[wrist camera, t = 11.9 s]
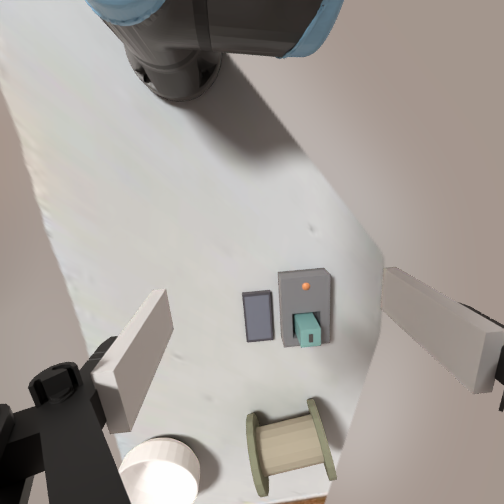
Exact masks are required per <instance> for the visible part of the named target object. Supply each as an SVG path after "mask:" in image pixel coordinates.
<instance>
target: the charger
mask: <svg viewBox="0 0 504 504" xmlns="http://www.w3.org/2000/svg"><path fill="white" fill-rule="evenodd" d="M293 323H294V330H295V332H296V335H297V338H298V341H299V343H300V346H301V348H302V347H311V346H321V328H320V326H319V324H318V322H317V320H316V319H315V317H314V315H313V313H312V312H307V313H297V314H293Z"/></svg>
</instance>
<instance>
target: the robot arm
mask: <svg viewBox="0 0 504 504" xmlns="http://www.w3.org/2000/svg"><path fill="white" fill-rule="evenodd" d="M85 1H86V2H87V4H88V5H89V6H90V7H91V8H92V10H93V11H94V12H95V13H96V14H97V15H98V16H99V17H100V18H101V19H102V20H103V21H104V23H105V24H106V25H107V26H108V27H109V28H110V29H111V30H112V31H113V32H114V34H115V35H116V36H117V37H118V38H119V39H120V40H121V41H122V42H123V43H124V47H125V51H126V55H127V58H128V60H129V62H130V64H131V66H132V68H133V70H134V72H135V73H136V75H137V76H138V77H139V79H140V80H141V81H142V82H143V83H144V84H145V85H146V86H147V87H148V88H149V89H150V90H152V91H153V92H154V93H156V94H157V95H159V96H161V97H163V98H166V99H169V100H173V101H187V100H191V99H194V98H196V97H198V96H200V95H202V94H203V93H204V92H206V91H207V90H208V89H209V88H210V86H211V85H212V84H213V82H214V81H215V79H216V77H217V74H218V72H219V69H220V65H221V58H222V52H224V53H236V54H249V55H260V56H272V57H276V58H279V59H281V58H286V57H306V56H309V55H311V54H313V53H314V52H315V51H317V50H318V49H319V48H320V46H321V45H322V44H323V43H324V41H325V40H326V38H327V36H328V35H329V33H330V31H331V29H332V27H333V25H334V23H335V21H336V19H337V17H338V14H339V12H340V9H341V7H342V4H343V2H344V0H85ZM381 310H383V311H384V312H385V313H386V314H387V315H388V316H389V317H390V318H391V319H392V320H393V321H394V322H396V323H397V324H398V325H399V326H400V327H401V328H402V329H403V330H404V331H405V332H406V333H407V334H408V335H410V336H411V337H412V338H413V339H414V340H415V341H416V342H417V343H418V344H419V345H420V346H422V348H424V349H425V350H426V351H427V352H428V353H429V354H430V355H431V356H432V357H433V358H434V359H436V360H437V361H438V362H439V363H440V364H441V365H442V366H443V367H444V368H445V369H446V370H447V371H448V372H450V373H451V374H452V375H453V376H454V377H455V378H456V379H457V380H458V381H459V382H460V383H461V384H462V385H464V386H465V387H466V388H467V389H468V390H469V391H470V392H471V393H472V394H479V393H487V392H492V390H493V386H494V381H495V379H496V380H498V381H499V382H500V383H501V384H503V385H504V325H502V324H500V323H499V322H497V321H495V320H493V319H490V318H489V317H488V316H486V315H484V314H481V312H479V311H477V310H475V309H474V308H472V307H470V306H467V305H464V304H462V303H459V302H456V301H454V300H453V299H451V298H449V297H447V296H446V295H444V294H442V293H441V292H439V291H437V290H435V289H433V288H432V287H430V286H428V285H426V284H425V283H423V282H421V281H420V280H418V279H416V278H414V277H413V276H411V275H409V274H407V273H405V272H404V271H402V270H400V269H399V268H397V267H391V268H384V269H383V283H382V296H381ZM173 330H174V328H173V322H172V317H171V312H170V307H169V302H168V297H167V291H166V289H157V290H152V292H151V293H150V294H149V296H148V297H147V298H146V300H145V301H144V302H143V304H142V305H141V306H140V308H139V309H138V310H137V312H136V313H135V314H134V316H133V317H132V318H131V320H130V321H129V323H128V324H127V325H126V327H125V328H124V329H123V331H122V332H121V333H120V335H119V336H114V337H110V338H109V339H107V340H106V341H105V342H103V343H102V344H101V345H100V346H99V347H98V348H97V350H96V351H95V352H94V354H93V355H92V356H91V357H90V358H89V361H87V362H86V363H85V364H84V366H83V367H82V368H81V369H80V370H79V369H78V366H77V365H76V364H75V363H74V362H65V363H59V364H57V365H54V366H51V367H49V368H47V369H46V370H44V371H42V372H41V373H39V374H38V375H37V376H35V377H34V378H33V379H32V381H31V382H30V383H29V387H28V389H29V391H30V393H31V396H32V398H33V401H34V403H35V407H31V408H28V409H25V410H22V411H19V412H16V413H12V411H11V409H10V406H8V405H7V404H0V504H28V500H29V496H30V491H31V487H32V483H33V478H34V475H35V474H38V473H41V472H43V471H45V474H46V482H47V490H48V497H49V504H131V502H130V499H129V497H128V494H127V492H126V489H125V487H124V484H123V482H122V479H121V477H120V474H119V472H118V469H117V467H116V464H115V462H114V459H113V457H112V454H111V452H110V449H109V447H108V444H107V442H106V439H105V437H104V434H103V432H102V429H103V427H104V425H105V423H106V424H107V427H108V430H109V433H110V434H114V433H123V432H131V430H132V427H133V425H134V423H135V420H136V418H137V415H138V413H139V411H140V408H141V406H142V404H143V401H144V399H145V396H146V394H147V392H148V389H149V387H150V384H151V382H152V380H153V377H154V375H155V373H156V370H157V368H158V365H159V363H160V361H161V358H162V356H163V353H164V351H165V349H166V346H167V344H168V342H169V339H170V337H171V334H172V332H173ZM503 410H504V392H503V396H502V399H501V403H500V407H499V411H502V412H503Z"/></svg>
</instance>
